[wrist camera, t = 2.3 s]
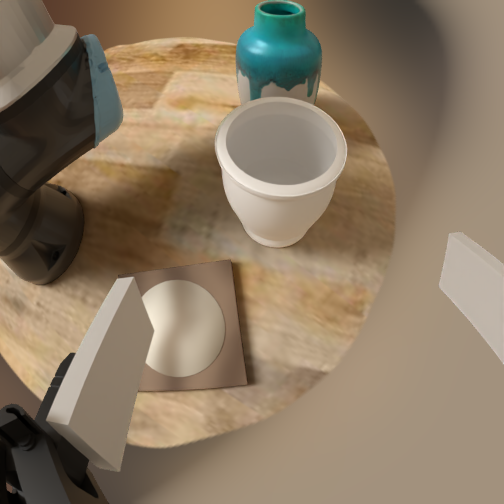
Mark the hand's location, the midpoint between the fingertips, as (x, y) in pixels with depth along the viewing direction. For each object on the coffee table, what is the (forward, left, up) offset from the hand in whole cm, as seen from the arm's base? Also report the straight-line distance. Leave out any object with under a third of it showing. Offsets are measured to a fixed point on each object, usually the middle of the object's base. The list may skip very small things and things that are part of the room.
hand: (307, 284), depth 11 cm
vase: (+5, +29, -22) cm, 37 cm away
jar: (+2, +13, -22) cm, 26 cm away
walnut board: (-11, +1, -22) cm, 25 cm away
